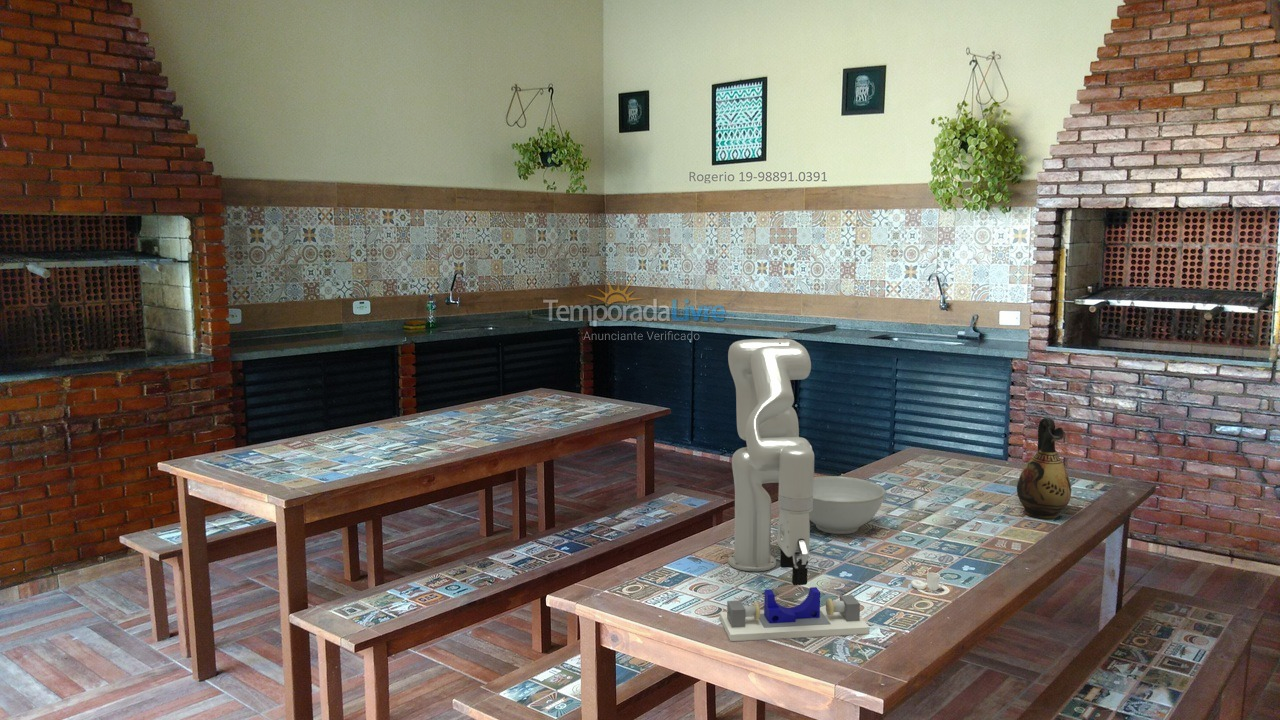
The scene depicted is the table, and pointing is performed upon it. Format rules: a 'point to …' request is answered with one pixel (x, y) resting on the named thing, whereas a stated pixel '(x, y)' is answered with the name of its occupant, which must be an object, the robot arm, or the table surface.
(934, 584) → the teacup and saucer
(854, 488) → the decorative bowl
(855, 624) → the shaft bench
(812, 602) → the blue cradle bracket
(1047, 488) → the ceramic jug
